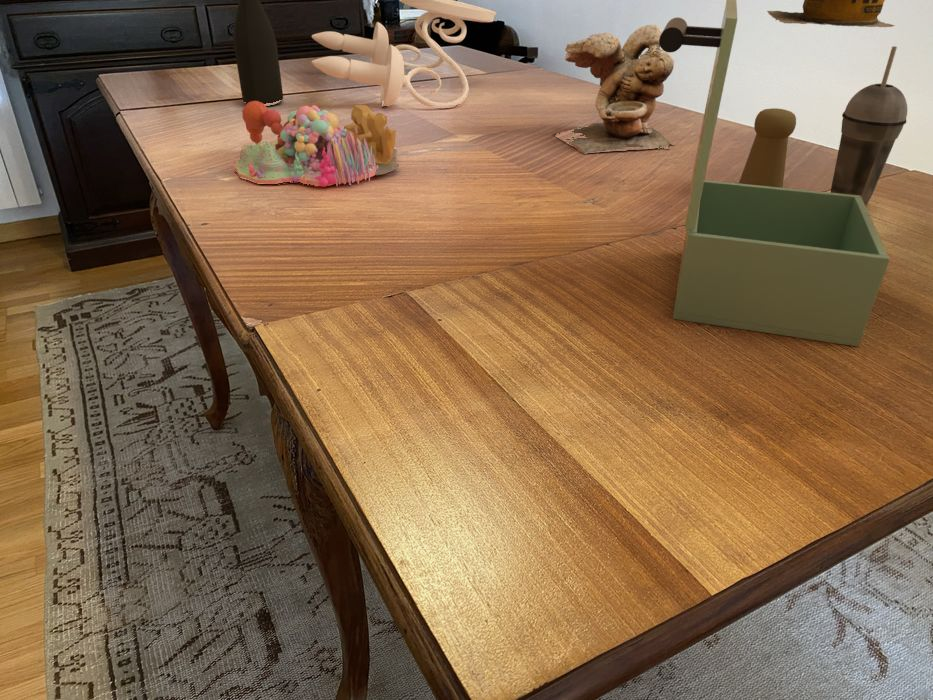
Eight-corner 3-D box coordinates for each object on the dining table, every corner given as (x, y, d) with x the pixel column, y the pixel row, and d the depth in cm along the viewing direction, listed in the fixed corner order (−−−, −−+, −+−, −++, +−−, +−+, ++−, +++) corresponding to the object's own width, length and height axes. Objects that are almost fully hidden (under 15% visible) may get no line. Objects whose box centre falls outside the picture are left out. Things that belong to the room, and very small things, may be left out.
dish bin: (836, 272, 77) (860, 195, 72) (858, 347, 64) (890, 258, 59) (682, 252, 81) (695, 178, 77) (672, 319, 68) (688, 234, 63)
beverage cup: (881, 203, 95) (933, 44, 85) (872, 219, 90) (927, 52, 80) (823, 193, 99) (867, 38, 88) (812, 208, 94) (857, 46, 83)
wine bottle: (250, 98, 146) (225, -70, 130) (288, 99, 146) (267, -70, 130) (238, 107, 139) (209, -69, 123) (277, 108, 139) (254, -69, 123)
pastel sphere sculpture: (376, 137, 121) (373, 81, 116) (422, 178, 103) (420, 114, 98) (226, 153, 113) (216, 93, 108) (247, 201, 95) (235, 131, 90)
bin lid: (736, -3, 67) (673, -6, 68) (737, 18, 54) (659, 13, 55) (700, 175, 76) (645, 168, 78) (694, 230, 63) (628, 221, 64)
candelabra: (476, 0, 169) (318, -36, 159) (522, 27, 132) (319, -17, 122) (458, 86, 179) (309, 58, 169) (497, 135, 142) (308, 102, 132)
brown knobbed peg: (728, 189, 100) (745, 109, 94) (750, 180, 103) (768, 102, 98) (768, 200, 96) (788, 117, 90) (790, 190, 100) (810, 110, 94)
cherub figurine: (586, 157, 112) (598, 36, 103) (541, 129, 127) (548, 20, 117) (682, 147, 117) (702, 31, 108) (628, 121, 132) (641, 16, 122)
